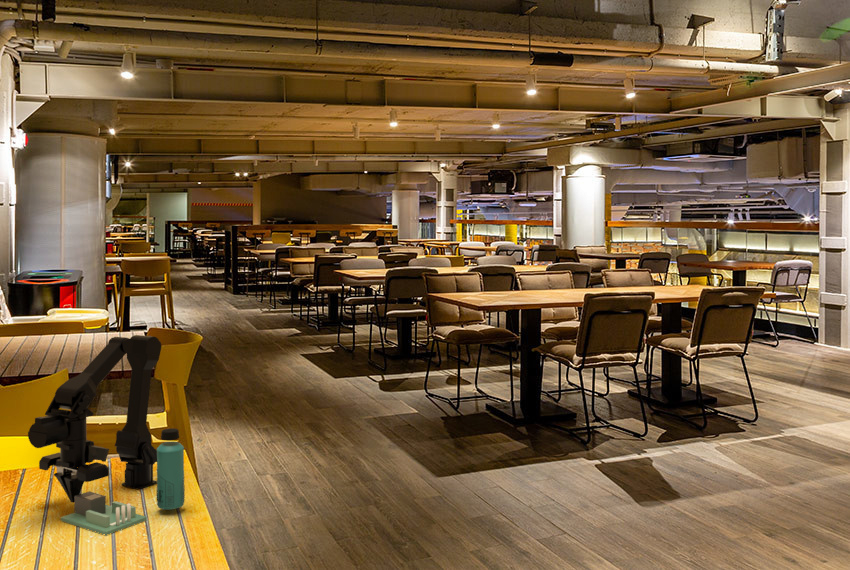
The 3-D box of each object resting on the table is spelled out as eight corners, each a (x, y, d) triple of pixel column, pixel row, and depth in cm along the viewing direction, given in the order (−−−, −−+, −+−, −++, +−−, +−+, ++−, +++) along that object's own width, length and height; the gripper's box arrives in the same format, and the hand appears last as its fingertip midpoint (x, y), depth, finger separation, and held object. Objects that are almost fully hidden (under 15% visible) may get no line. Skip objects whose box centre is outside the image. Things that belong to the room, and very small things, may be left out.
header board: (60, 520, 177) (60, 500, 177) (101, 506, 187) (101, 487, 186) (105, 535, 169) (105, 514, 169) (146, 520, 179) (146, 499, 178)
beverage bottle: (190, 509, 186) (190, 428, 185) (170, 518, 180) (170, 434, 179) (170, 504, 189) (170, 424, 188) (150, 513, 183) (149, 430, 182)
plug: (74, 512, 180) (74, 495, 180) (89, 507, 184) (89, 490, 184) (90, 517, 177) (90, 500, 177) (105, 512, 181) (105, 495, 180)
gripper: (128, 436, 185) (128, 500, 186) (79, 425, 194) (79, 485, 195) (86, 446, 175) (87, 513, 176) (37, 434, 184) (38, 498, 185)
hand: (73, 502), depth 183 cm, fingers closed
